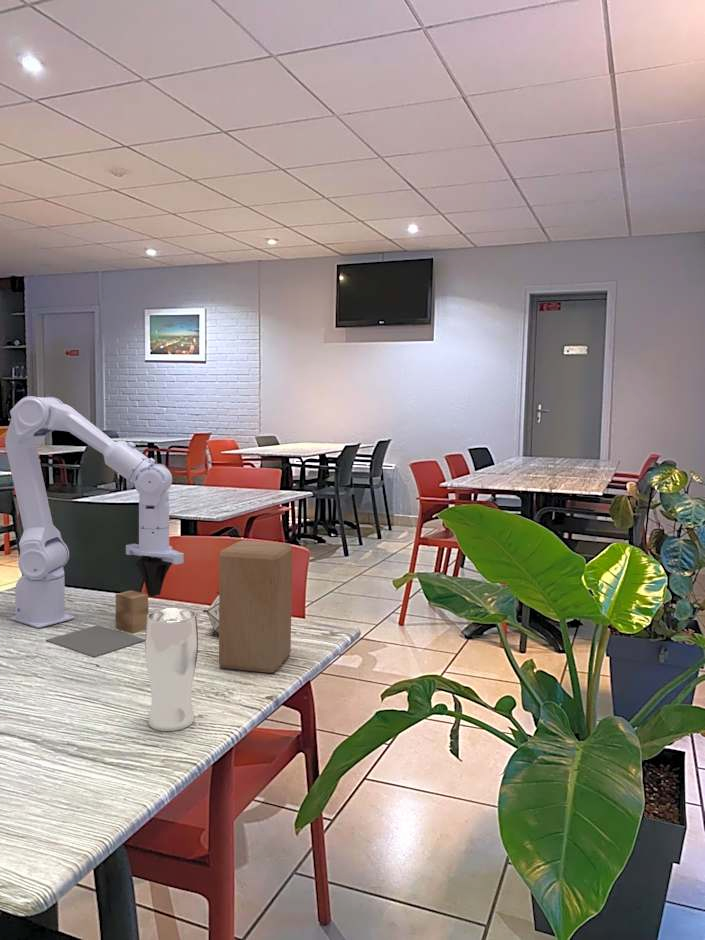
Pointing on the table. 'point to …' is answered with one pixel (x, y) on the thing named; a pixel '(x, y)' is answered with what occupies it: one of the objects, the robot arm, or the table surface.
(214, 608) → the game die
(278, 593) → the block
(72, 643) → the mat
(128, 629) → the walnut block
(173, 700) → the beer glass
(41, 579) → the robot arm
